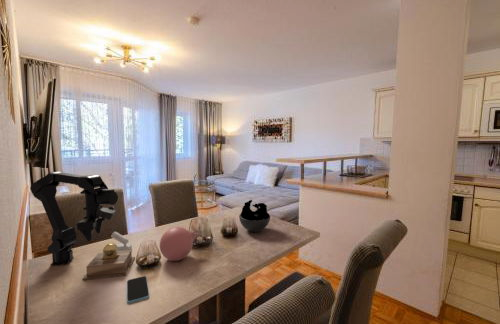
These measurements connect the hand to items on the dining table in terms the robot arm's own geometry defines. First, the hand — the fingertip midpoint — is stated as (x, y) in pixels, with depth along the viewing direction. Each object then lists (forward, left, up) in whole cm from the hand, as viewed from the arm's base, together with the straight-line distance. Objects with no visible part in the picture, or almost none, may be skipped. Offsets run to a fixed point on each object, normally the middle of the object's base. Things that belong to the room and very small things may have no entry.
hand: (94, 237), depth 104 cm
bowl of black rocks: (+82, +25, -13) cm, 87 cm away
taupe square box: (+8, -5, -13) cm, 16 cm away
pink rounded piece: (+38, -1, -13) cm, 40 cm away
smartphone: (+23, -23, -14) cm, 35 cm away
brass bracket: (+8, -5, -12) cm, 15 cm away
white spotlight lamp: (+7, +13, -13) cm, 20 cm away
